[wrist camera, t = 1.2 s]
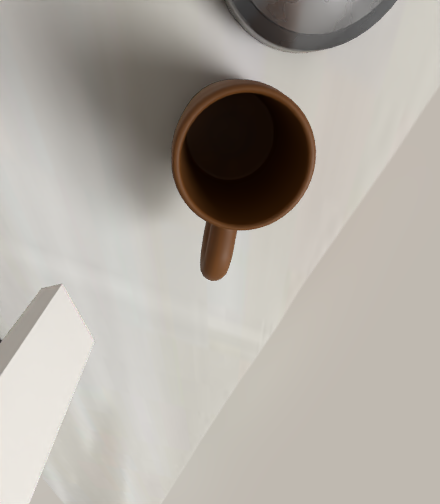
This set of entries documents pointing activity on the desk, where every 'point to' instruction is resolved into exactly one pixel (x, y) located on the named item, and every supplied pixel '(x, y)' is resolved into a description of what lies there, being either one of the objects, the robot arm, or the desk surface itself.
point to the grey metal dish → (307, 21)
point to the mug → (240, 162)
